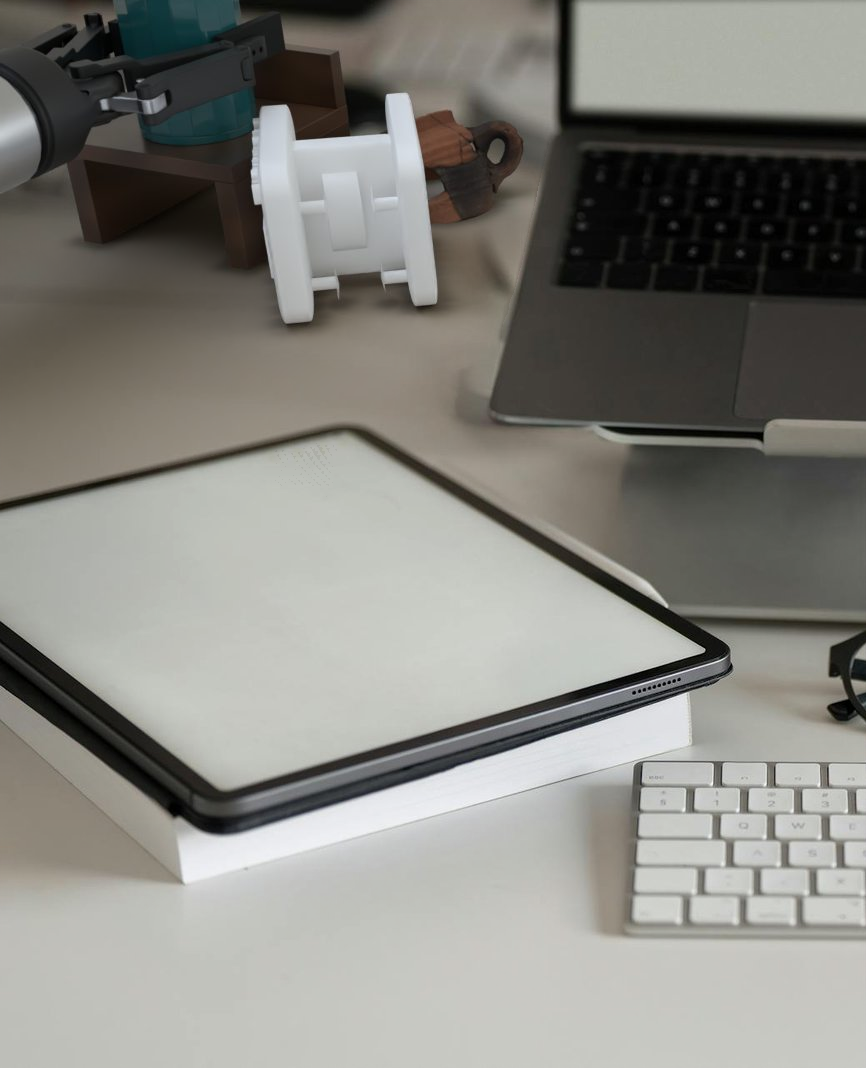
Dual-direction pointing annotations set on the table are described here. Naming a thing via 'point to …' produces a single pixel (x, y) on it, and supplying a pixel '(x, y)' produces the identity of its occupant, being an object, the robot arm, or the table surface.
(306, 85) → the desk shelf
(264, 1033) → the table surface
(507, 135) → the pottery mug
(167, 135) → the teal cup
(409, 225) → the cable organizer
